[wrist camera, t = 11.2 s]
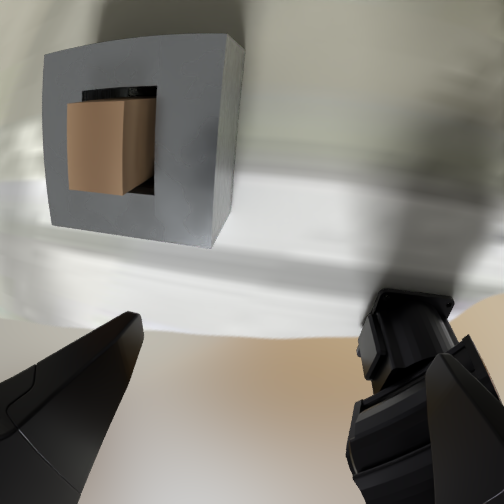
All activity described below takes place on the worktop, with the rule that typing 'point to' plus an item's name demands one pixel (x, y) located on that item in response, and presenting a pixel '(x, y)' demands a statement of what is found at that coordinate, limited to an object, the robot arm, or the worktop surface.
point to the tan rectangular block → (111, 143)
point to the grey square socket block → (166, 134)
